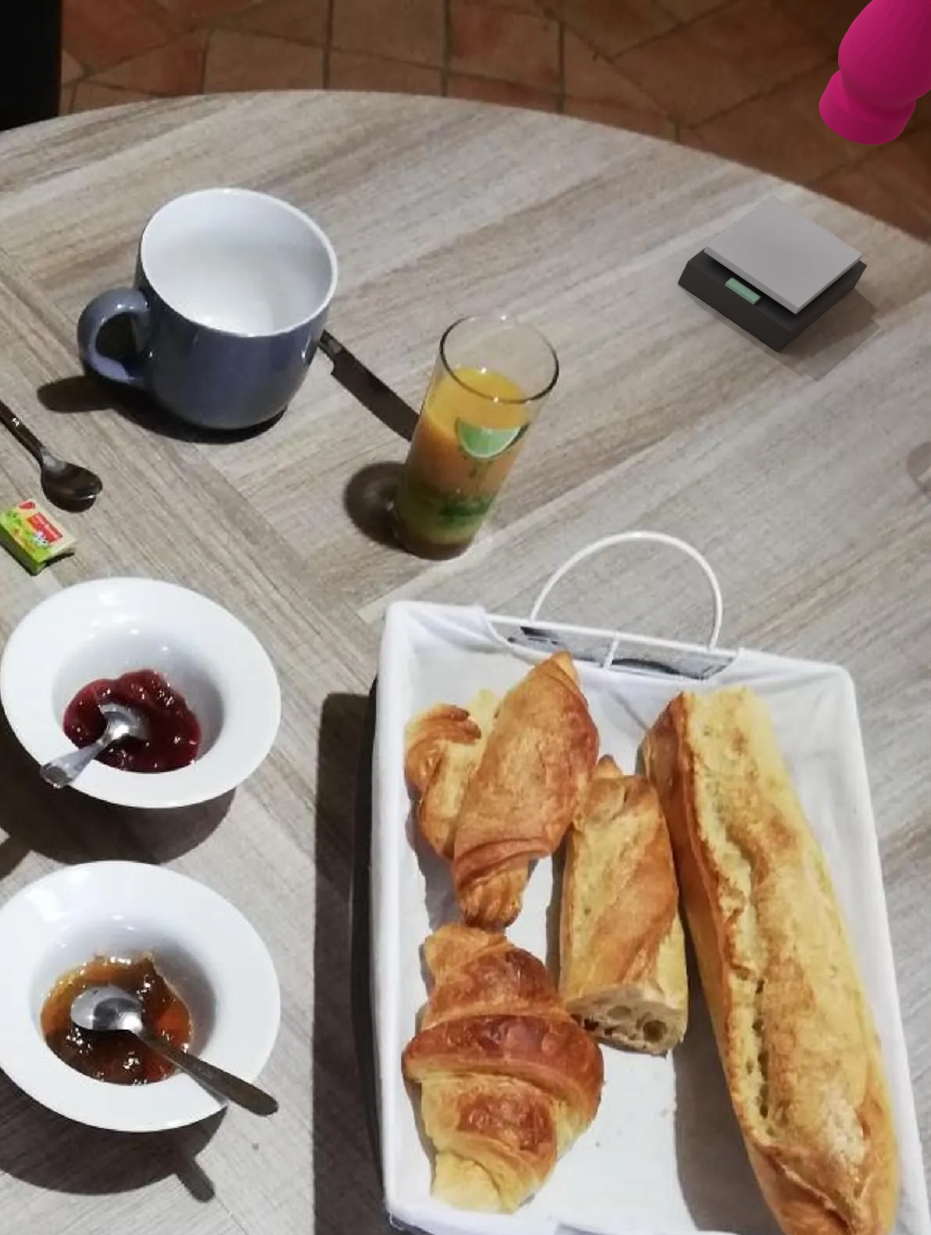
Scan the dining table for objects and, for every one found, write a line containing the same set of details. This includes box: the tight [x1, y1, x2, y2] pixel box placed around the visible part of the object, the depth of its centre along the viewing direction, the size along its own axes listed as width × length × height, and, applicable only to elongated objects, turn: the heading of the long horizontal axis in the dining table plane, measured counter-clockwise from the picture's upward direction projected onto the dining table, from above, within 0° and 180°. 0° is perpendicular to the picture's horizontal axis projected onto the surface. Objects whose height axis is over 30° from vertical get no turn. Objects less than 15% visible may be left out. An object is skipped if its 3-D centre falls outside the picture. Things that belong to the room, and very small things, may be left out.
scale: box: [677, 193, 868, 353], centre depth 131 cm, size 10×11×3 cm
